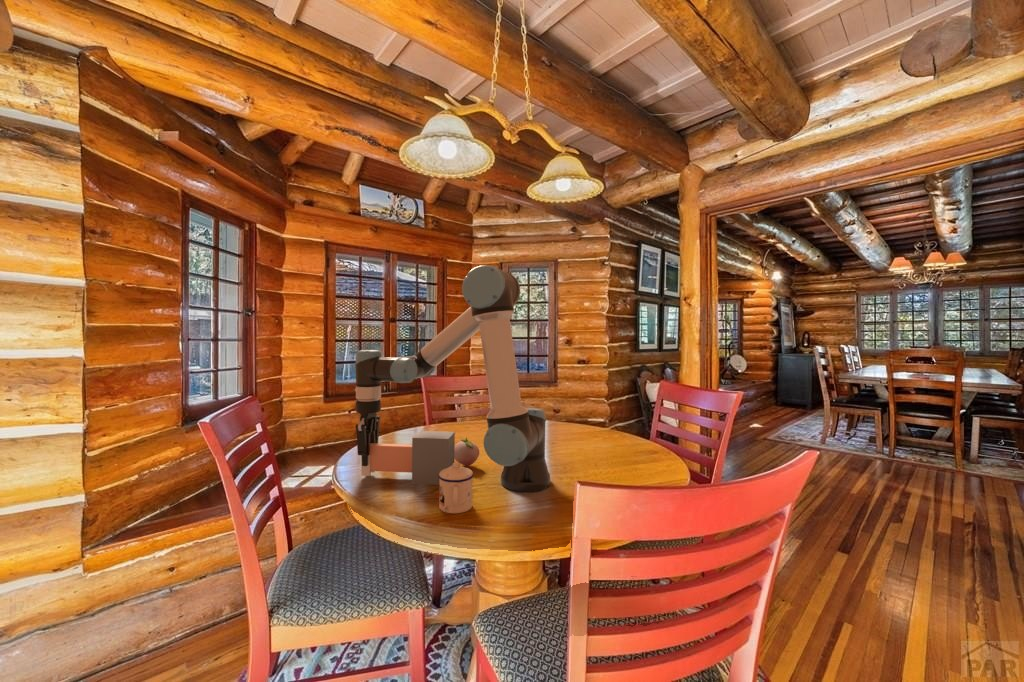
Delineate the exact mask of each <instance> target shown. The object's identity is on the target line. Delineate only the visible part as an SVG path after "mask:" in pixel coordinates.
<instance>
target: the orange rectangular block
mask: <svg viewBox="0 0 1024 682" xmlns="http://www.w3.org/2000/svg"><path fill="white" fill-rule="evenodd" d="M369 454H371V471H375V472H387V473H388V472H389V473H411V474H412V444H408V443H407V444H405V443H400V444H399V443H379V442H378V443H370V452H369Z"/></svg>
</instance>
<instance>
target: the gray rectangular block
mask: <svg viewBox="0 0 1024 682" xmlns="http://www.w3.org/2000/svg"><path fill="white" fill-rule="evenodd" d="M455 434H456V433H455V431H447V430H442V431H439V430H420V431H418V432H417V433H416V434H415V435H414V436H412V439H411V440H412V441H411V443H412V444H411V445H412V473H411V484H412V485H426V484H427V485H428V486H429V485H431V486H439V473H440V472H441V471H442V470H444V469H446V468H449V467H451V466H452V464H453V463H454V462H455V458H454V456H455V445H456V442H455V441H456V439H455V438H456V437H455V436H456V435H455Z"/></svg>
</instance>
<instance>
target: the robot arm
mask: <svg viewBox="0 0 1024 682" xmlns="http://www.w3.org/2000/svg"><path fill="white" fill-rule="evenodd" d="M461 286H462V287H461V289H462V290H461V291H462V292H461V293H462V297H463V298H464V300H465V302H466V303H467V304H468V305H469V307H468V308H467V309H466V310H465V311H463V312H462V313H461V314H460V315H459V316H458V317H457V318H455V319H454V320H453V321H452V322H451V323H450V324H448V325H447V326H446V327H445V328H443V330H441V331H440V332H439V333H438V334H437V335H436V336H434V337H433V338H432V339H431V340H430V341H429V342H428V343H427V344H426V345H424V346H423V347H422V348H421V349H420V350H418V351H417V352H416V353H415V354H413V355H408V356H399V357H398V356H397V357H393V356H392V357H390V356H388V357H384V356H382V351H381V350H379V349H377V350H376V349H362V350H361V349H360V350H358V351H357V352H356V354H355V355H356V356H355V364H354V365H355V388H354V392H355V399H356V400H355V412H356V413H357V414H359V415H360V417H359V424H358V423H357V424H355V427H354V428H355V430H356V431H355V432H356V443H357V445H356V448H357V455H358V456H360V458H361V461H360V462H361V466H360V467H361V468H360V474H361V477H362V476H363V477H371V476H372V474H371V473H375V472H376V471H371V454H369V452H370V443H379V433H380V431H379V430H380V421H381V415H380V416H379V415H378V416H377V413H379V412H381V411H382V400H381V397H382V382H385V383H387V382H390V383H397V384H398V383H399V384H406V383H408V384H410V383H412V382H413V381H414V380H415V379H422V378H426V377H429V376H431V375H432V374H433V373H434V372H435V370H436V367H437V366H438V365H439V364H441V363H442V362H443V361H444V360H446V359H447V358H448V357H449V356H451V354H453V353H454V352H455V351H456V350H458V349H459V348H461V346H462V345H464V344H465V343H466V342H467V341H468V340H470V339H471V338H472V337H473V336H474V335H476V334H477V333H478V332H480V333H479V335H480V341H481V347H482V349H481V350H482V356H483V363H484V370H485V375H486V377H485V378H486V384H487V390H488V397H489V398H488V399H489V404H490V410H489V411H488V413H487V414H486V424H487V430H486V432H485V434H484V437H483V448H484V450H485V453H486V455H487V457H489V459H490V460H491V461H493V463H495V464H497V465H499V466H502V467H503V469H502V471H501V473H500V483H501V484H500V485H502V486H503V487H504V488H506V489H509V490H510V491H515V492H516V491H517V492H523V493H524V492H525V493H526V492H527V493H529V492H531V491H532V492H539V491H542V489H543V490H545V489H548V488H549V487H550V485H551V474H550V472H549V468H548V466H547V462H546V422H547V419H546V412H545V410H544V409H542V408H536V407H535V408H534V407H525V406H524V405H523V403H522V397H521V391H520V385H519V384H520V383H519V376H518V370H517V363H516V355H515V349H514V347H515V346H514V343H513V342H514V341H513V335H512V333H513V332H512V327H511V321H510V319H511V317H512V316H513V315H514V313H515V310H514V309H515V308H514V306H515V305H516V304H517V303H518V301H519V300H520V296H521V286H520V282H519V281H518V279H517V278H516V277H515V276H514V274H512V273H510V272H508V271H504V270H502V269H500V268H498V267H496V266H493V265H488V264H487V265H486V264H484V265H483V264H482V265H479V266H475V267H473V268H471V270H469V272H468V273H467V274H466V276H465V277H464V279H463V282H462V285H461ZM548 486H549V487H548ZM532 492H531V493H532Z"/></svg>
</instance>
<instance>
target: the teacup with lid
mask: <svg viewBox="0 0 1024 682" xmlns="http://www.w3.org/2000/svg"><path fill="white" fill-rule="evenodd" d="M473 477H474V472H473V471H472V470H471V469H470V468H468V467H465V466H464V465H461V464H460V463H459V462H457V461H454V463H453V464H452V466H451V467H449V468H446V469H444V470H442V471H441V472H440V473H439V485H438V486H439V492H438V493H439V496H438V497H439V500H438V501H439V502H438V505H439V506H438V507H439V510H441V512H443V513H446V514H463V513H465V512H469V510H471V508H472V507H473V481H474V480H473Z"/></svg>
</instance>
